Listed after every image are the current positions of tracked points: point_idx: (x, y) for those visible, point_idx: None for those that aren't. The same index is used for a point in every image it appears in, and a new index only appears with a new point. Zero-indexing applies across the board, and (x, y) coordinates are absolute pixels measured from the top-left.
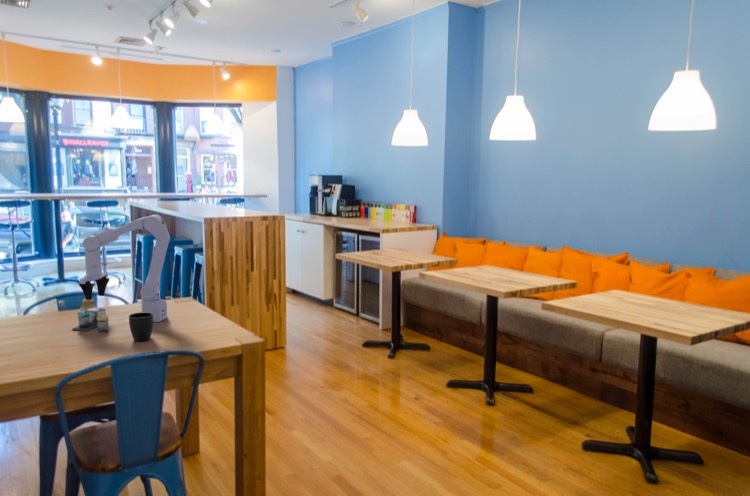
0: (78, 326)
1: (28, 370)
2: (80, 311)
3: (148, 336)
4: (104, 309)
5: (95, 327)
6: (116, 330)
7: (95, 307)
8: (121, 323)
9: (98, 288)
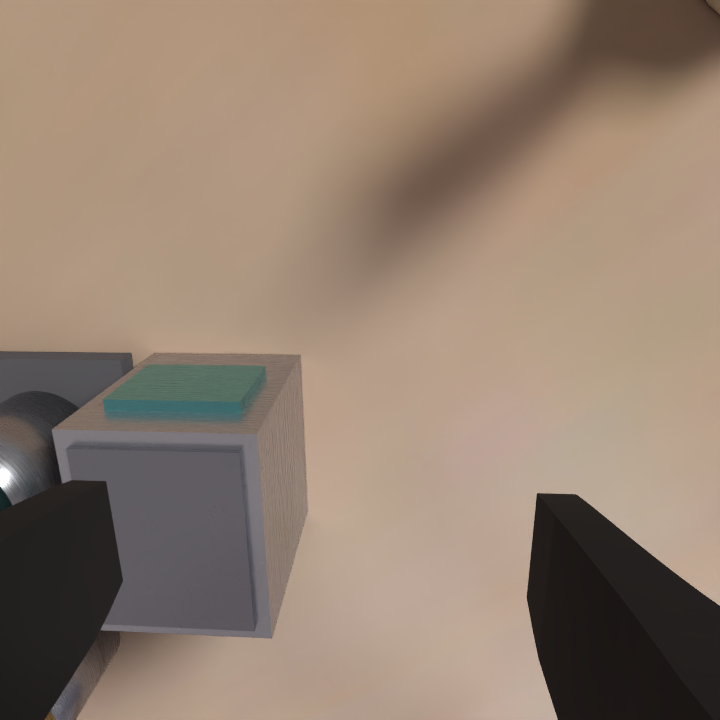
0: (26, 372)
1: None
2: None
3: None
4: (248, 635)
5: None
6: (139, 708)
7: None
8: (348, 641)
9: (612, 637)
